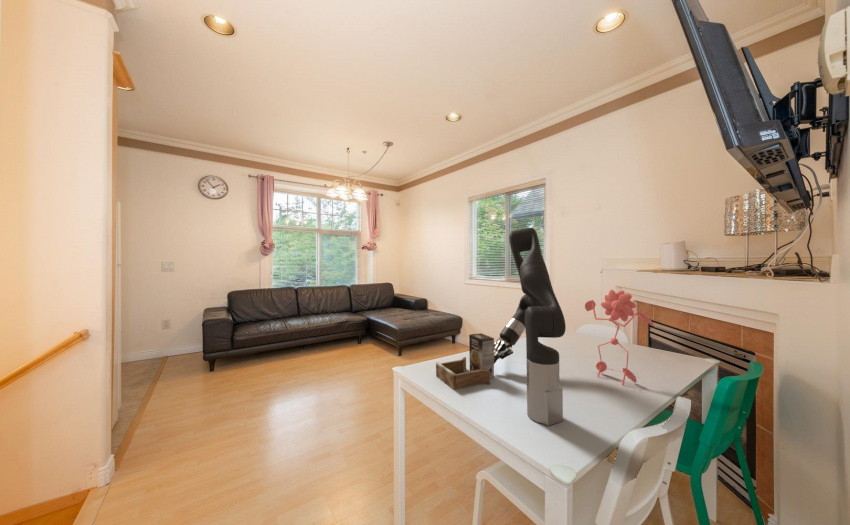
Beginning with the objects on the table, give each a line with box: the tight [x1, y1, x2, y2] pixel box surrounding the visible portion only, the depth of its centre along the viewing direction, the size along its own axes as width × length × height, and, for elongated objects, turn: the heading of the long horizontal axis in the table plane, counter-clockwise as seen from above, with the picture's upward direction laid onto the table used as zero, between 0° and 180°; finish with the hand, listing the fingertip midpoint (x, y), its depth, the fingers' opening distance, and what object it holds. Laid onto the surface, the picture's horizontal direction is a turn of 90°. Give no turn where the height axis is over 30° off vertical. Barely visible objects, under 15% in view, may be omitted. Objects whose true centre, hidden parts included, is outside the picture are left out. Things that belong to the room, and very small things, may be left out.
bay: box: [435, 356, 491, 390], centre depth 118 cm, size 18×15×6 cm
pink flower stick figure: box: [584, 289, 655, 392], centre depth 117 cm, size 15×26×35 cm, turn 30°
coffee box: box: [468, 332, 495, 379], centre depth 122 cm, size 9×6×16 cm
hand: (489, 363), depth 124 cm, fingers closed
